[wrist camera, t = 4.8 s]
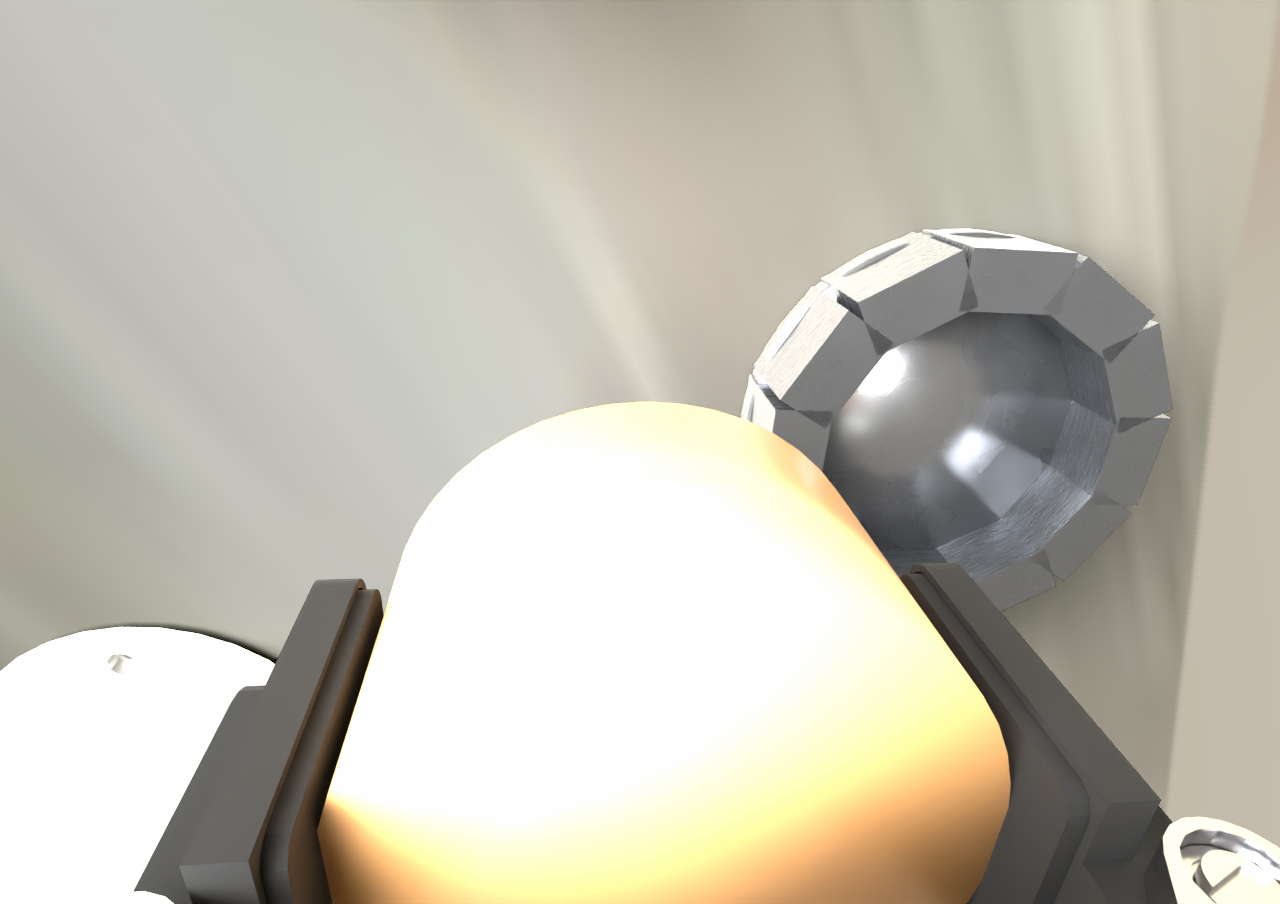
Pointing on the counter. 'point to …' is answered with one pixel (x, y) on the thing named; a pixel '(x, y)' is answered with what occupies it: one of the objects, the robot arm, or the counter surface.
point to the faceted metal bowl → (972, 402)
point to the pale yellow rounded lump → (658, 689)
